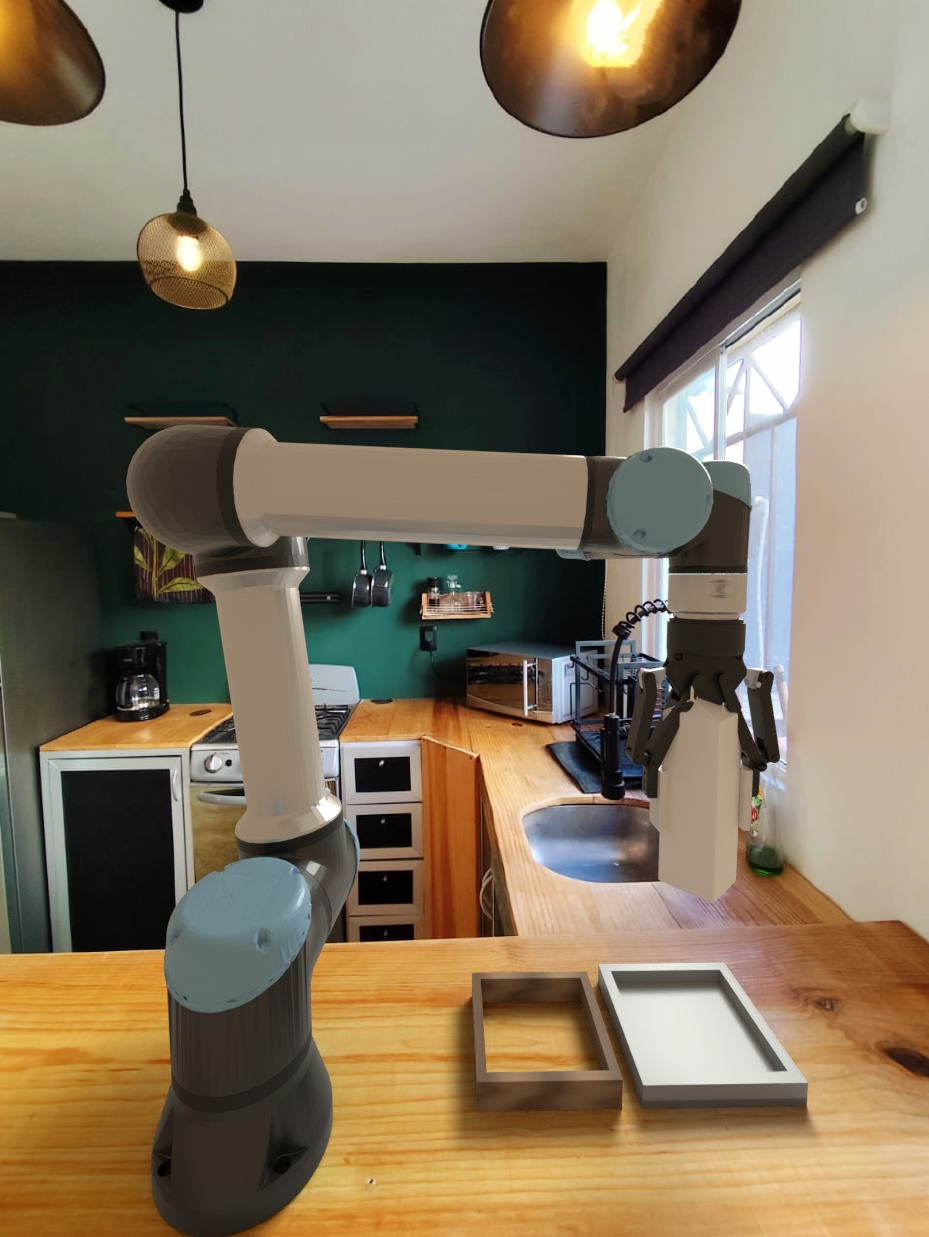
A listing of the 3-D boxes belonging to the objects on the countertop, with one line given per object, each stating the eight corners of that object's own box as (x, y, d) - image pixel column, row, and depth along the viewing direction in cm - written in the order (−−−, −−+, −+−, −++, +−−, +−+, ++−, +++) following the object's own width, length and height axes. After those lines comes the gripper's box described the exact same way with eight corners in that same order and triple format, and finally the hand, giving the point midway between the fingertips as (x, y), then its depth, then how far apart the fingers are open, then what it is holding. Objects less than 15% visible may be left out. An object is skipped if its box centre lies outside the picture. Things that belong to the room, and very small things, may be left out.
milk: (736, 882, 58) (746, 681, 56) (713, 905, 54) (723, 689, 52) (681, 859, 62) (689, 673, 60) (656, 879, 58) (663, 680, 56)
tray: (642, 1108, 51) (643, 1085, 51) (598, 981, 67) (598, 963, 67) (806, 1105, 52) (808, 1082, 51) (723, 980, 67) (724, 962, 67)
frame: (476, 1111, 51) (476, 1082, 51) (471, 995, 65) (472, 972, 65) (622, 1108, 51) (622, 1079, 51) (586, 994, 65) (586, 971, 65)
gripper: (616, 619, 52) (611, 843, 53) (830, 618, 52) (818, 841, 54) (595, 613, 59) (592, 811, 61) (783, 612, 60) (774, 809, 61)
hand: (698, 825), depth 57 cm, fingers closed on milk, 8 cm apart
